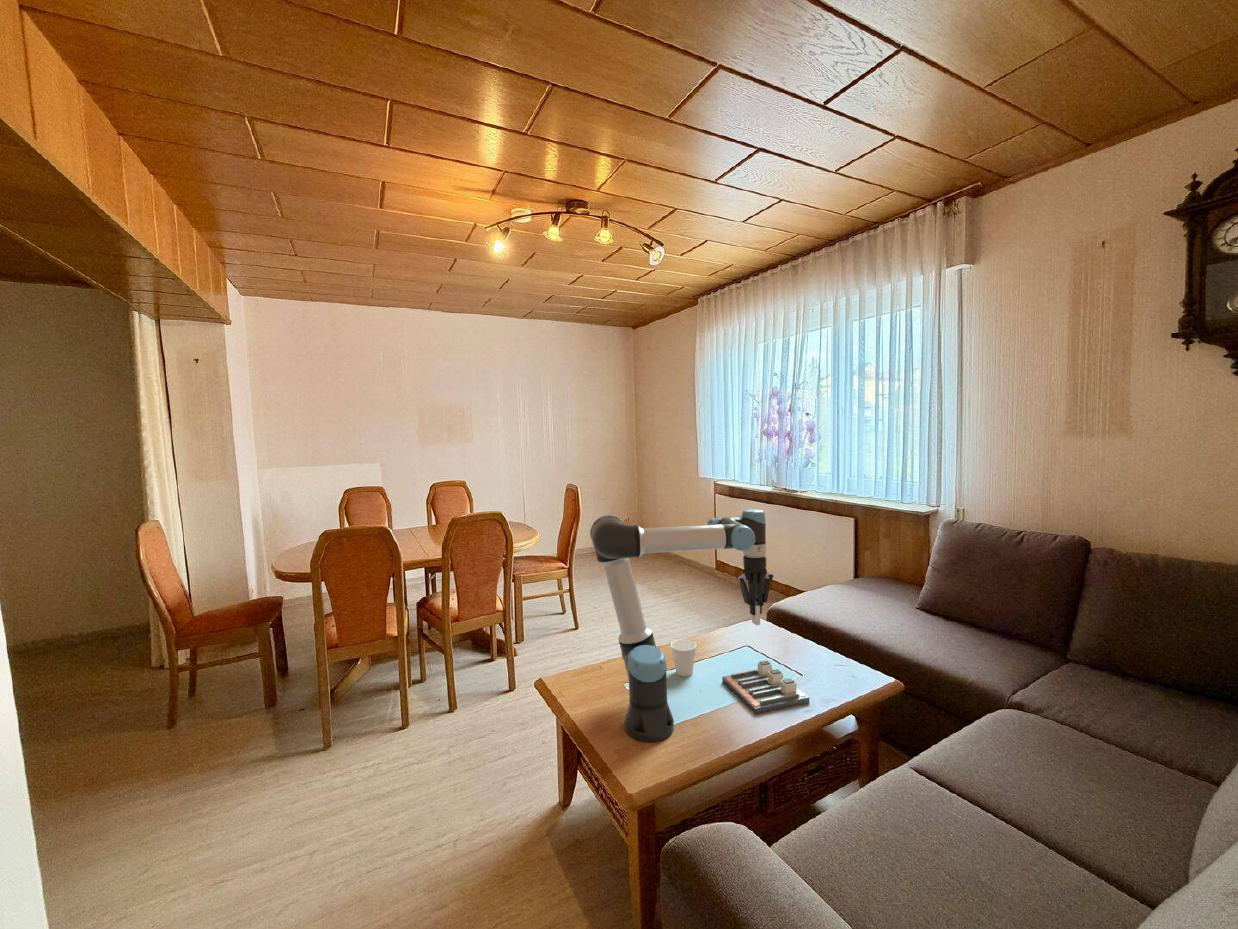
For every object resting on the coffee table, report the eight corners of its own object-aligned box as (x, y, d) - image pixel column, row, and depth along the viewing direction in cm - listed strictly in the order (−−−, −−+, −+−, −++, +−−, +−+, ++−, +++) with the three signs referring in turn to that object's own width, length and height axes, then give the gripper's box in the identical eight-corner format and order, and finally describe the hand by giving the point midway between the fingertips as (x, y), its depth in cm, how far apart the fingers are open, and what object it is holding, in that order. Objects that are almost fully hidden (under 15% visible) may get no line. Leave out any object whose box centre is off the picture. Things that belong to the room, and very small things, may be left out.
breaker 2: (773, 686, 167) (772, 674, 166) (768, 682, 169) (767, 670, 169) (783, 684, 168) (782, 672, 167) (778, 680, 170) (777, 668, 170)
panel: (755, 714, 154) (755, 705, 154) (722, 682, 175) (722, 673, 175) (809, 703, 159) (809, 693, 159) (770, 673, 181) (770, 664, 180)
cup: (697, 680, 177) (696, 651, 177) (670, 679, 179) (669, 649, 179) (698, 668, 187) (697, 640, 186) (672, 666, 189) (671, 638, 188)
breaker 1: (762, 677, 173) (762, 665, 173) (757, 673, 176) (757, 661, 176) (772, 675, 174) (772, 663, 174) (767, 671, 177) (767, 659, 177)
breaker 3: (786, 696, 160) (785, 683, 160) (780, 692, 163) (780, 679, 163) (796, 694, 161) (796, 681, 161) (791, 690, 164) (790, 677, 164)
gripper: (743, 559, 159) (744, 630, 160) (777, 555, 163) (779, 624, 164) (731, 554, 166) (733, 622, 168) (765, 551, 170) (766, 617, 171)
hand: (756, 623), depth 166 cm, fingers closed
